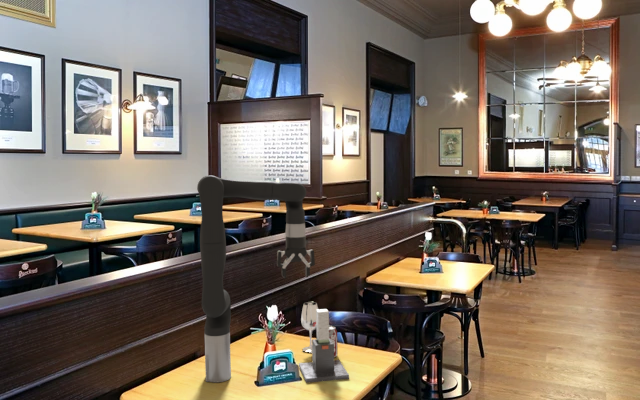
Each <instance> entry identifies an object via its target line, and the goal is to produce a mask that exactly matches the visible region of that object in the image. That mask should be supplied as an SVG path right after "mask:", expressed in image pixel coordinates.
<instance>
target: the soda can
mask: <svg viewBox="0 0 640 400" xmlns="http://www.w3.org/2000/svg"><path fill="white" fill-rule="evenodd" d="M329 338H330V339H331V340H332V342H333V343H334V358H335V357H337V356H338V331H337V329H336V326H333V325H329Z"/></svg>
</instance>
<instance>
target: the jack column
mask: <svg viewBox="0 0 640 400" xmlns="http://www.w3.org/2000/svg"><path fill="white" fill-rule="evenodd" d="M329 312H330V311H329V310H328V309H327V308H318V309H317V310H316V329H315V330H316V339H317V344H329V326H330V318H329V317H330V314H329Z"/></svg>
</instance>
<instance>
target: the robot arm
mask: <svg viewBox="0 0 640 400" xmlns="http://www.w3.org/2000/svg"><path fill="white" fill-rule="evenodd" d="M197 193H198V195H199V202H200V206H201V207H200V209H201V222H200V231H199V247H200V249H199V251H200V263H201V275H202V292H201V309H202V311H203V313H204V314H205V324H204V328H203V329H204V359H205V360H204V363H205V365H204V366H205V367H204V369H205V382H210V383H222V382H223V383H224V382H226V381H228V380H230V379H231V378H232V371H231V370H232V367H231V364H232V363H231V361H232V360H231V331H230V329H231V322H232V320H231V319H232V313H231V310H232V309H231V308H232V307H231V305H232V304H231V297H230V294H229V292H228V291H227V290H226V289H224V272H225V265H226V259H227V240H226V231H225V230H226V229H225V223H224V217H223V210H224V209H223V207H224V206H223V203H224V198H243V199H250V200H261V201H284V202H285V210H286V211H285V212H286V213H285V214H286V215H285V222H286V224H285V232H284V234H285V250H283V251H282V250H277V252H276V253H277V254H276V257H277V258H276V266H277V267H278V268H280V269H281V276H282V277H283V279H287V266H288V265H289V264H290V262H292V263H295V262H298V263H301V262H303V263H304V264H305V277H306V278H309V276H311V267H313V266H315V265H316V263H315V260H316V258H315V251H314V249H309V250H307V249H306V247H307V246H306V245H307V244H306V238H307V237H306V232H307V231H306V220H305V219H306V218H305V216H306V214H305V210H304V206H303V201H304V199H305V198H306V196H307V189H306V187H305V186H304V185H303V184H302V183H300V182H295V181H293V182H278V181H271V180H233V179H226V178H220V177H218V176H215V175H209V174H208V175H205V176H203V177H202V178H201V179H199V181H198V182H197ZM307 254H308V256H309V258H310V259H309V261H310V262H308V261H307V259H306V258H305V257H306V255H307ZM284 255H285V256H286V258H285V259H284V261H283V263H282V258H283V256H284Z"/></svg>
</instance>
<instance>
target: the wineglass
mask: <svg viewBox="0 0 640 400" xmlns="http://www.w3.org/2000/svg"><path fill="white" fill-rule="evenodd" d="M317 309H319V307H318V303H317V302H314V301H308V302H304V303H303V306H302V309H301V310H302V311H301V318H300V321H301V326H302V327H303V328H304V329H305V330H306V331H309V346H305V347H303V348H302V349H303V351H305V352H309V353H308V354H312V340H313V338H312V336H313V335H312V334H313V331H314V330H317V329H316V310H317ZM303 351H302V352H303ZM305 352H304V353H305Z"/></svg>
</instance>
